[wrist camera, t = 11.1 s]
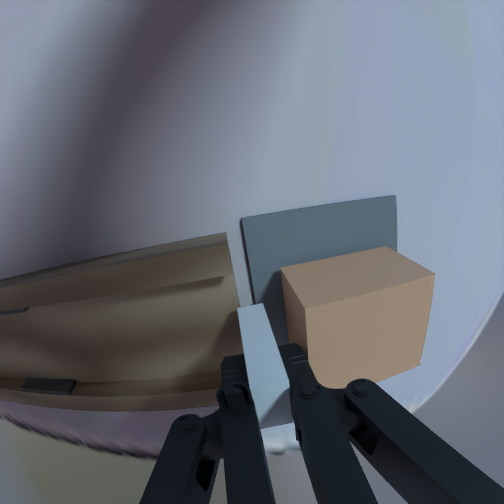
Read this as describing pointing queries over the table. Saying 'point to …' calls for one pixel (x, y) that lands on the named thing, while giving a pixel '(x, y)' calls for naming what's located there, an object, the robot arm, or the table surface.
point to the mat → (311, 244)
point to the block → (358, 314)
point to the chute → (122, 329)
